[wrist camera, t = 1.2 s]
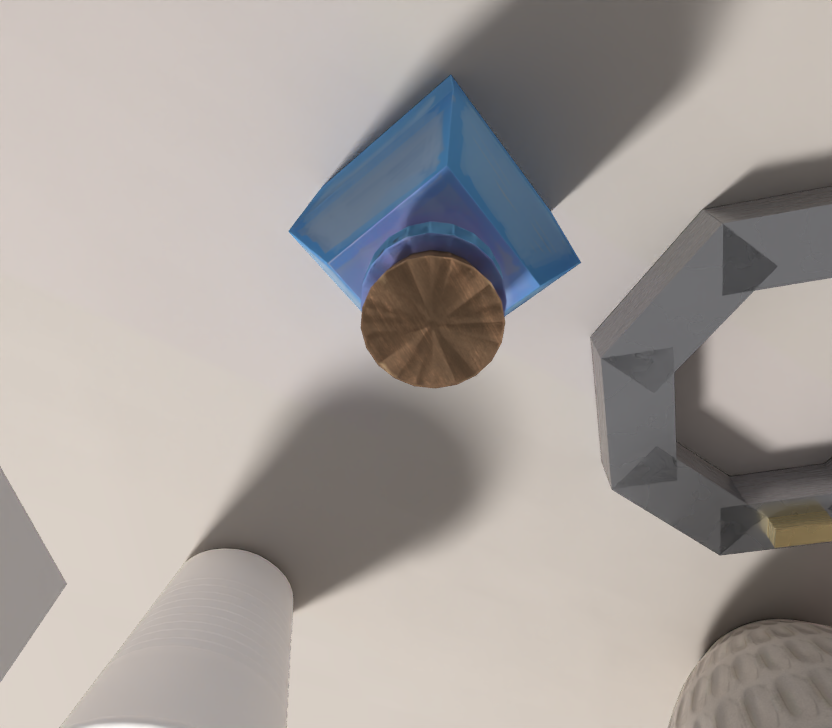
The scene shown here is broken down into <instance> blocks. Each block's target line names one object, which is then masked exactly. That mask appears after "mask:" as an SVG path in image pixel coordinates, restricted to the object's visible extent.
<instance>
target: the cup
mask: <svg viewBox="0 0 832 728" xmlns="http://www.w3.org/2000/svg"><path fill="white" fill-rule="evenodd" d="M292 621H293V592H292V589H291V586H290V583H289V582H288V580H287V578H286V577H285V575H284V574H283V573H282V572H281V571H280V570H279V569H278V568H277V567H276V566H275V565H273V564H272V563H271V562H269V561H268V560H266V559H265V558H263V557H261V556H259V555H257V554H254V553H251V552H249V551H244V550H240V549H228V548H226V549H225V548H223V549H212V550H208V551H205V552H201V553H199V554H197V555H195V556H193V557H191V558H190V559H189V560H188V561H186V562H185V563H184V564H183V565H182V567H181V568H180V569H179V571H178V572H177V573H176V575H175V576H174V577H173V578H172V580H171V581H170V582H169V584H168V585H167V586H166V588H165V589H164V590H163V592H162V593H161V594H160V596H159V597H158V598H157V600H156V601H155V602H154V604H153V605H152V606H151V608H150V609H149V610H148V612H147V613H146V614H145V616H144V617H143V618H142V620H141V621H140V622H139V624H138V625H137V626H136V628H135V629H134V630H133V631H132V633H131V634H130V635H129V637H128V638H127V639H126V641H125V642H124V643H123V645H122V646H121V647H120V649H119V650H118V651H117V653H116V654H115V655H114V657H113V658H112V659H111V661H110V662H109V663H108V664H107V666H106V667H105V668H104V670H103V671H102V672H101V673H100V675H99V676H98V677H97V679H96V680H95V681H94V683H93V684H92V685H91V687H90V688H89V689H88V691H87V692H86V693H85V694H84V696H83V697H82V698H81V700H80V701H79V702H78V704H77V705H76V706H75V708H74V709H73V710H72V712H71V713H70V714H69V716H68V717H67V718H66V720H65V721H64V722H63V723H62V725H61V726H60V727H59V728H287V708H288V688H289V669H290V651H291V634H292Z"/></svg>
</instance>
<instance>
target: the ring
mask: <svg viewBox="0 0 832 728" xmlns="http://www.w3.org/2000/svg"><path fill="white" fill-rule="evenodd" d="M827 278H832V186H830V187H825V188H819V189H813V190H808V191H802V192H797V193H791V194H786V195H780V196H775V197H769V198H764V199H758V200H753V201H747V202H742V203H736V204H730V205H725V206H719V207H714V208H708V209H703V210H702V211H701V212H700V213H699V214H698V215H697V217H696V218H695V219H694V220H693V221H692V222H691V223H690V224H689V226H688V227H687V228H686V229H685V230H684V231H683V232H682V234H681V235H680V236H679V237H678V238H677V239H676V240H675V241H674V243H673V244H672V245H671V246H670V247H669V248H668V249H667V251H666V252H665V253H664V254H663V255H662V256H661V257H660V259H659V260H658V261H657V262H656V263H655V264H654V265H653V266H652V268H651V269H650V270H649V271H648V272H647V273H646V274H645V276H644V277H643V278H642V279H641V280H640V281H639V282H638V284H637V285H636V286H635V287H634V288H633V289H632V290H631V291H630V293H629V294H628V295H627V296H626V297H625V298H624V299H623V301H622V302H621V303H620V304H619V305H618V306H617V307H616V309H615V310H614V311H613V312H612V313H611V314H610V315H609V316H608V318H607V319H606V320H605V321H604V322H603V323H602V324H601V326H600V327H599V328H598V329H597V330H596V331H595V332H594V334H593V335H592V336H591V348H592V359H593V370H594V382H595V393H596V404H597V415H598V427H599V438H600V449H601V461H602V464H603V467H604V470H605V473H606V475H607V478H608V481H609V483H610V486H611V489H612V490H613V491H615V492H617V493H618V494H620V495H622V496H623V497H625V498H627V499H628V500H630V501H631V502H633V503H635V504H636V505H638V506H640V507H641V508H643V509H645V510H646V511H648V512H649V513H651V514H653V515H654V516H656V517H658V518H659V519H661V520H663V521H664V522H666V523H668V524H669V525H671V526H672V527H674V528H676V529H677V530H679V531H681V532H682V533H684V534H686V535H687V536H689V537H691V538H692V539H694V540H695V541H697V542H699V543H700V544H702V545H704V546H705V547H707V548H709V549H710V550H712V551H713V552H715V553H717V554H718V555H727V554H736V553H744V552H752V551H761V550H769V549H777V548H786V547H794V546H803V545H811V544H819V543H828V542H832V458H831V459H830V460H829V461H827V462H826V463H825V464H820V465H813V466H805V467H797V468H790V469H782V470H775V471H767V472H760V473H752V474H745V475H737V476H728V475H726V474H725V473H723V472H722V471H720V470H719V469H717V468H716V467H714V466H713V465H711V464H709V463H708V462H706V461H705V460H703V459H702V458H700V457H699V456H697V455H696V454H694V453H693V452H691V451H689V450H688V449H686V448H685V447H683V446H682V445H680V444H679V443H677V442H676V421H675V385H674V372H675V371H676V370H677V369H678V368H679V367H680V366H681V365H682V364H683V363H684V362H685V361H686V360H687V359H688V358H689V357H690V356H691V355H692V354H693V353H694V352H695V351H696V350H697V349H698V348H699V347H700V346H701V345H702V344H703V343H704V342H705V341H706V340H707V339H708V337H709V336H710V335H711V334H712V333H713V332H714V331H715V330H716V329H717V328H718V327H719V326H720V325H721V324H722V323H723V322H724V321H725V320H726V319H727V318H728V317H729V316H730V315H731V314H732V313H733V312H734V311H735V310H736V309H737V308H738V307H739V306H740V305H741V304H742V303H743V302H744V301H745V300H746V298H747V297H748V296H749V295H750V294H751V293H752V292H753V291H754V290H760V289H767V288H773V287H779V286H785V285H791V284H797V283H803V282H809V281H815V280H821V279H827Z"/></svg>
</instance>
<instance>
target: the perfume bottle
mask: <svg viewBox="0 0 832 728" xmlns="http://www.w3.org/2000/svg"><path fill="white" fill-rule="evenodd" d="M289 233H290V234H291V235H292V236H293V237H294V238H295V239H296V240H297V241H298V242H299V244H300V245H301V246H302V247H303V248H304V249H305V250H306V251H307V252H308V253H309V255H310V256H311V257H312V258H313V259H314V260H315V261H316V262H317V263H318V264H319V266H320V267H321V268H322V269H323V270H324V271H325V272H326V273H327V274H328V275H329V277H330V278H331V279H332V280H333V281H334V282H335V283H336V284H337V285H338V286H339V287H340V289H341V290H342V291H343V292H344V293H345V294H346V295H347V296H348V297H349V298H350V300H351V301H352V302H353V303H354V304H355V305H356V306H357V307H358V308H359V309H360V311H361V312H362V318H361V330H362V334H363V338H364V341H365V345H366V348H367V350H368V351H369V352H370V354H371V355H372V357H373V358H374V360H375V361H376V363H377V364H378V365H379V366H380V367H381V368H382V369H384V370H385V371H386V372H387V373H389V374H390V375H391V376H392V377H394V378H395V379H398V380H400V381H403V382H405V383H408V384H410V385H413V386H418V387H428V388H440V387H446V386H452V385H457V384H459V383H461V382H463V381H465V380H468V379H470V378H472V377H474V376H476V375H477V374H478V373H479V372H480V371H481V370H482V369H483V368H485V367H486V366H487V365H488V364H489V363H490V362H491V361H492V359H493V357H494V356H495V354H496V352H497V350H498V348H499V347H500V345H501V343H502V338H503V332H504V326H505V318H504V317H505V316H506V315H508V314H509V313H510V312H512V311H513V310H515V309H516V308H517V307H519V306H520V305H522V304H523V303H525V302H526V301H527V300H529V299H530V298H532V297H533V296H534V295H536V294H537V293H539V292H540V291H542V290H543V289H544V288H546V287H547V286H549V285H550V284H551V283H553V282H554V281H556V280H557V279H559V278H560V277H561V276H563V275H564V274H566V273H567V272H568V271H570V270H571V269H573V268H574V267H576V266H577V265H578V264H580V263H581V262H580V260H579V258H578V257H577V255H576V253H575V252H574V250H573V248H572V247H571V245H570V243H569V241H568V240H567V238H566V236H565V235H564V233H563V231H562V230H561V228H560V226H559V225H558V223H557V221H556V220H555V218H554V216H553V214H552V213H551V211H550V210H549V208H548V207H547V206H546V204H545V203H544V202H543V200H542V199H541V197H540V196H539V195H538V193H537V192H536V191H535V189H534V188H533V186H532V185H531V184H530V182H529V181H528V180H527V178H526V177H525V176H524V174H523V173H522V171H521V170H520V169H519V167H518V166H517V165H516V163H515V162H514V160H513V159H512V158H511V156H510V155H509V154H508V152H507V151H506V149H505V148H504V147H503V145H502V144H501V143H500V141H499V140H498V139H497V137H496V136H495V134H494V133H493V132H492V130H491V129H490V128H489V126H488V125H487V123H486V122H485V121H484V119H483V118H482V117H481V115H480V114H479V112H478V111H477V110H476V108H475V107H474V106H473V104H472V103H471V101H470V100H469V99H468V97H467V96H466V95H465V93H464V92H463V91H462V89H461V88H460V86H459V85H458V84H457V82H456V81H455V80H454V78H453V77H452V75H450V76H448V77H447V78H446V79H445V80H444V81H443V82H442V83H440V84H439V85H438V86H437V87H436V88H435V89H434V90H432V91H431V92H430V93H429V94H428V95H427V96H426V97H424V98H423V99H422V100H421V101H420V102H419V103H418V104H416V105H415V106H414V107H413V108H412V109H411V110H410V111H408V112H407V113H406V114H405V115H404V116H403V117H402V118H400V119H399V120H398V121H397V122H396V123H395V124H394V125H392V126H391V127H390V128H389V129H388V130H387V131H386V132H384V133H383V134H382V135H381V136H380V137H379V138H378V139H376V140H375V141H374V142H373V143H372V144H371V145H370V146H368V147H367V148H366V149H365V150H364V151H363V152H361V153H360V154H359V155H358V156H357V157H356V158H355V159H353V160H352V161H351V162H350V163H349V164H348V165H347V166H345V167H344V168H343V169H342V170H341V171H340V172H339V173H337V174H336V175H335V176H334V177H333V178H332V179H331V180H329V181H328V182H327V183H326V184H325V185H324V186H323V187H322V188H321V189H320V190H319V192H318V193H317V194H316V196H315V197H314V198H313V200H312V201H311V202H310V204H309V205H308V206H307V207H306V209H305V210H304V211H303V213H302V214H301V215H300V217H299V218H298V219H297V221H296V222H295V223H294V225H293V226H292V227H291V229H290V230H289Z"/></svg>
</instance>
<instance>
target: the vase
mask: <svg viewBox="0 0 832 728" xmlns="http://www.w3.org/2000/svg"><path fill="white" fill-rule="evenodd" d="M668 728H832V627H831V626H826V625H821V624H815V623H810V622H804V621H797V620H791V619H768V620H762V621H757V622H753V623H750V624H746V625H744V626H741V627H739V628H736V629H734V630H732V631H731V632H729V633H727V634H726V635H724V636H723V637H721V638H720V639H719V640H717V641H716V642H715V643H714V644H713V645H712V646H711V648H710V649H709V650H708V651H707V652H706V654H705V655H704V656H703V657H702V659H701V660H700V661H699V662H698V664H697V665H696V667H695V668H694V669H693V671H692V672H691V674H690V675H689V677H688V678H687V680H686V682H685V684H684V685H683V688H682V690H681V692H680V695H679V697H678V700H677V702H676V704H675V707H674V709H673V712H672V715H671V718H670V722H669V725H668Z"/></svg>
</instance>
